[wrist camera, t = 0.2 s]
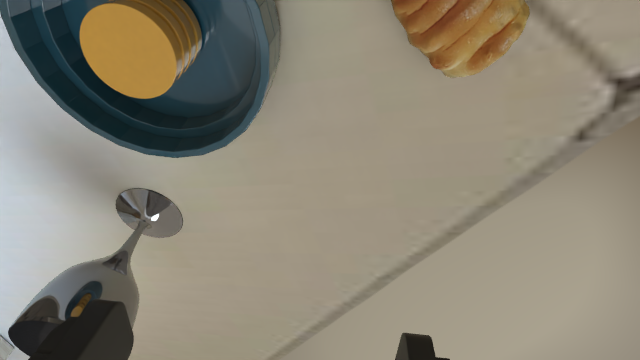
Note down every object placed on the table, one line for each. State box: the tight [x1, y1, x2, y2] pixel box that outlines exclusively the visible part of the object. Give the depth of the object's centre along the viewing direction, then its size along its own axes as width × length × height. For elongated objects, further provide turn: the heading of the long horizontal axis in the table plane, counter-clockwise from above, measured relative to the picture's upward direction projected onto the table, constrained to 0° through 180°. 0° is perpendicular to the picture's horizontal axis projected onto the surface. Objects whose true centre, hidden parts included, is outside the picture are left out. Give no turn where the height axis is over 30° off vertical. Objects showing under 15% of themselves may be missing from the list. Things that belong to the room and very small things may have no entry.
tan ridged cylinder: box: [80, 0, 202, 99], centre depth 26 cm, size 6×6×5 cm
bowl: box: [0, 0, 280, 158], centre depth 27 cm, size 17×17×4 cm
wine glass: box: [8, 189, 183, 357], centre depth 35 cm, size 8×8×15 cm
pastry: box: [391, 0, 530, 78], centre depth 24 cm, size 9×7×4 cm
